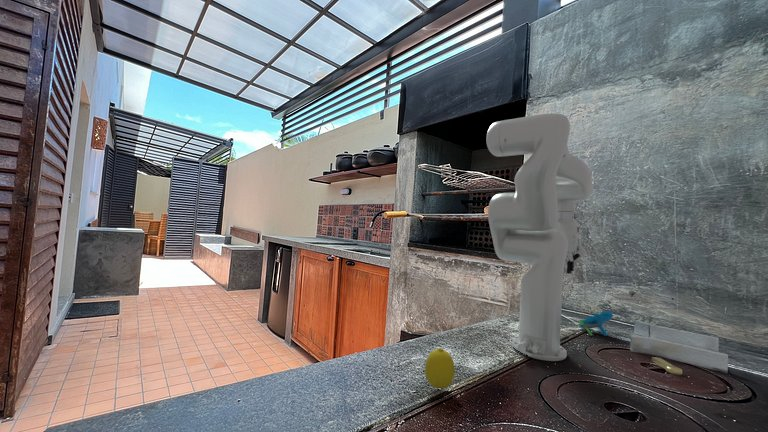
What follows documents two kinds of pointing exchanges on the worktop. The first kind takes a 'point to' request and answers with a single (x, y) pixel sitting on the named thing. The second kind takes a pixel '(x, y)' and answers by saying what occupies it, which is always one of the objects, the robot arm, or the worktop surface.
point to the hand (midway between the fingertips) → (559, 271)
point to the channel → (678, 346)
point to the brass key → (667, 366)
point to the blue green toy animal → (596, 322)
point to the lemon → (439, 368)
